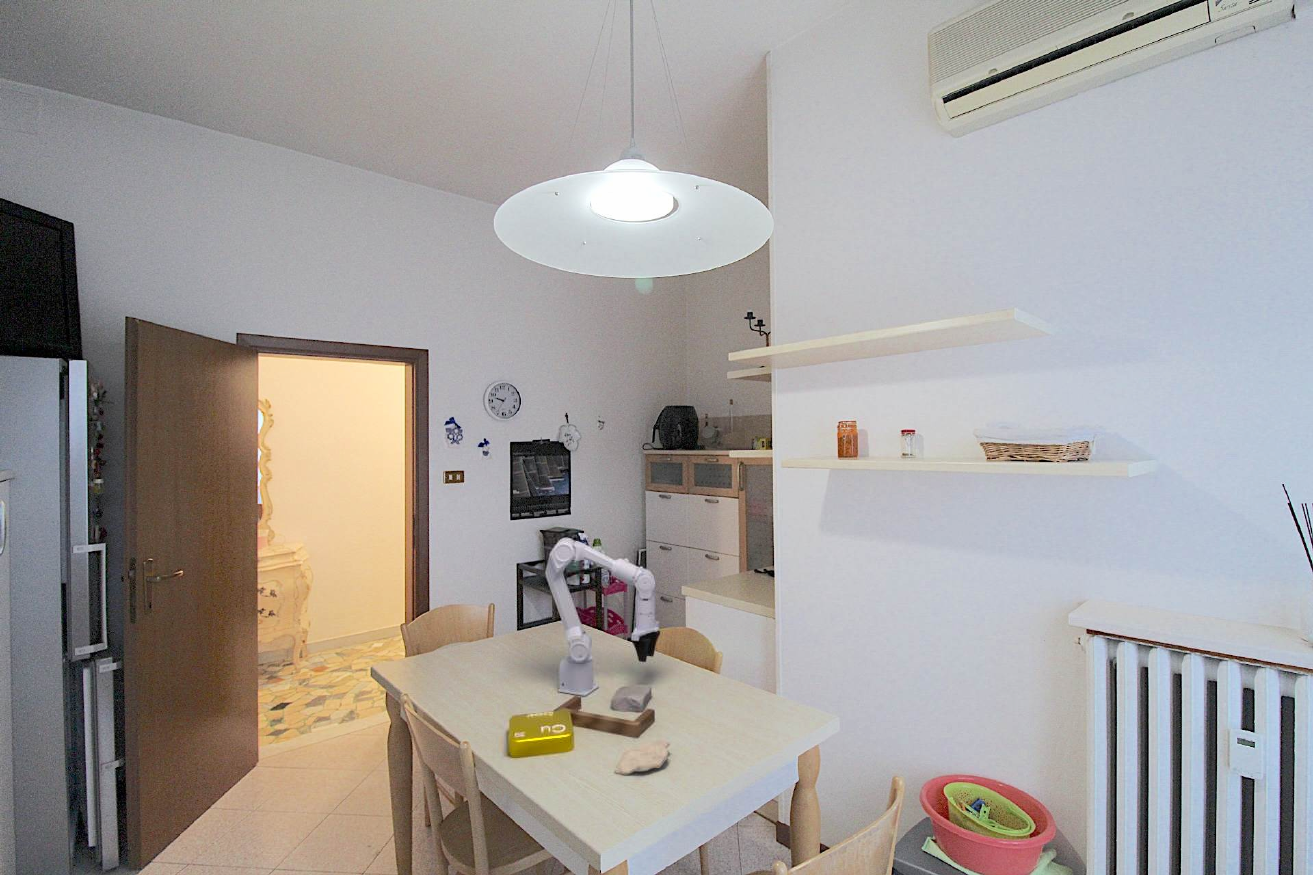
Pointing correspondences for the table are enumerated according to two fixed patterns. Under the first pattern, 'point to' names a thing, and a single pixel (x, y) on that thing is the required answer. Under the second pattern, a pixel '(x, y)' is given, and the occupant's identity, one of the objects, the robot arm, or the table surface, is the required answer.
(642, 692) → the stone block
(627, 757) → the decorative stone
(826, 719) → the table surface
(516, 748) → the element tile
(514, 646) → the table surface
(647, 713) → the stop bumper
